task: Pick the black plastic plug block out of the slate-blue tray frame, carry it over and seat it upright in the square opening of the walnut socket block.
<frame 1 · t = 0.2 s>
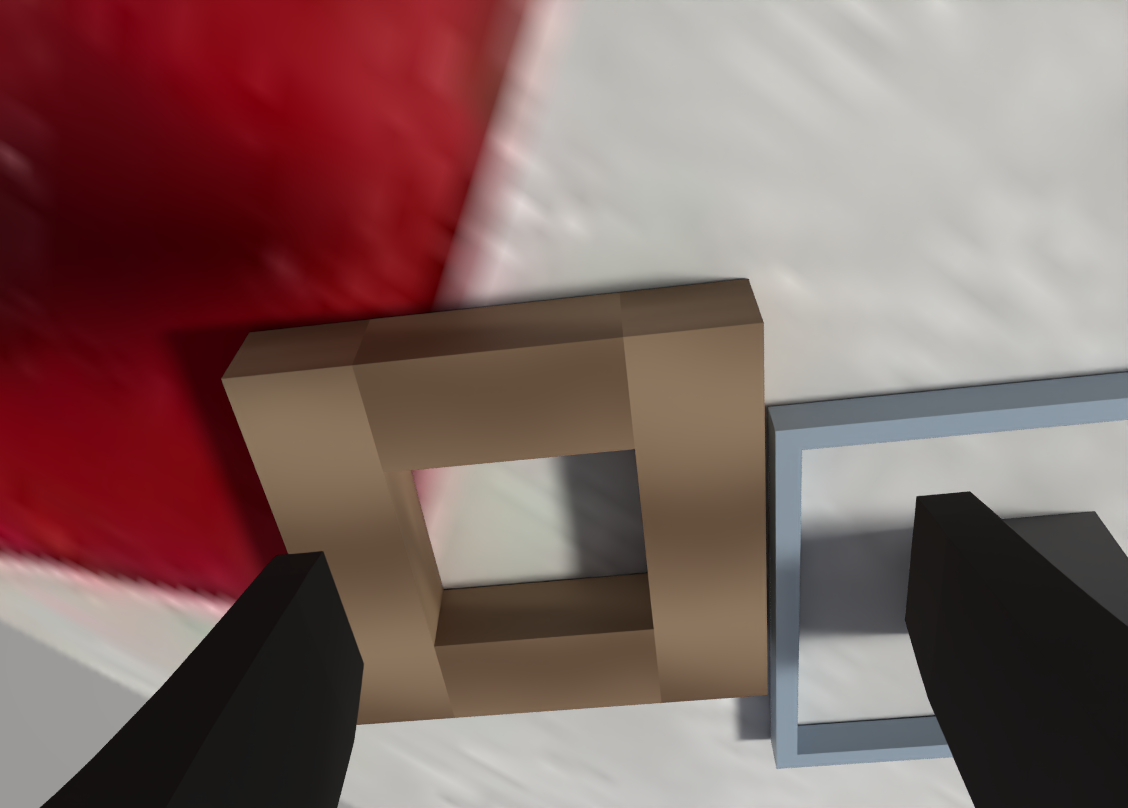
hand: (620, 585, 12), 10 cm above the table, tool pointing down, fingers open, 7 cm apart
socket block: (530, 501, 24), on the table
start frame: (1004, 576, 25), on the table
plug: (1050, 662, 22), in the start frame
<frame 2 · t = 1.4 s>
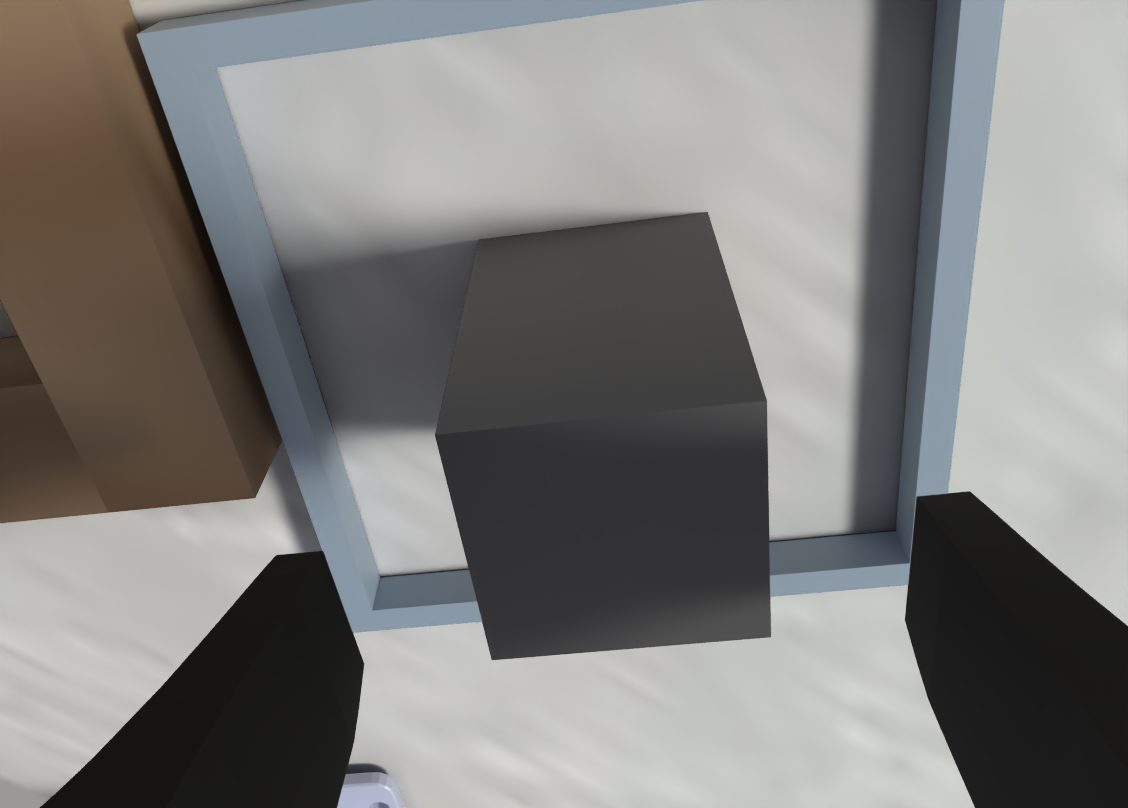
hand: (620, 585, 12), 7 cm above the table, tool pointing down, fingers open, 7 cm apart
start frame: (604, 328, 17), on the table
plug: (609, 416, 15), in the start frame
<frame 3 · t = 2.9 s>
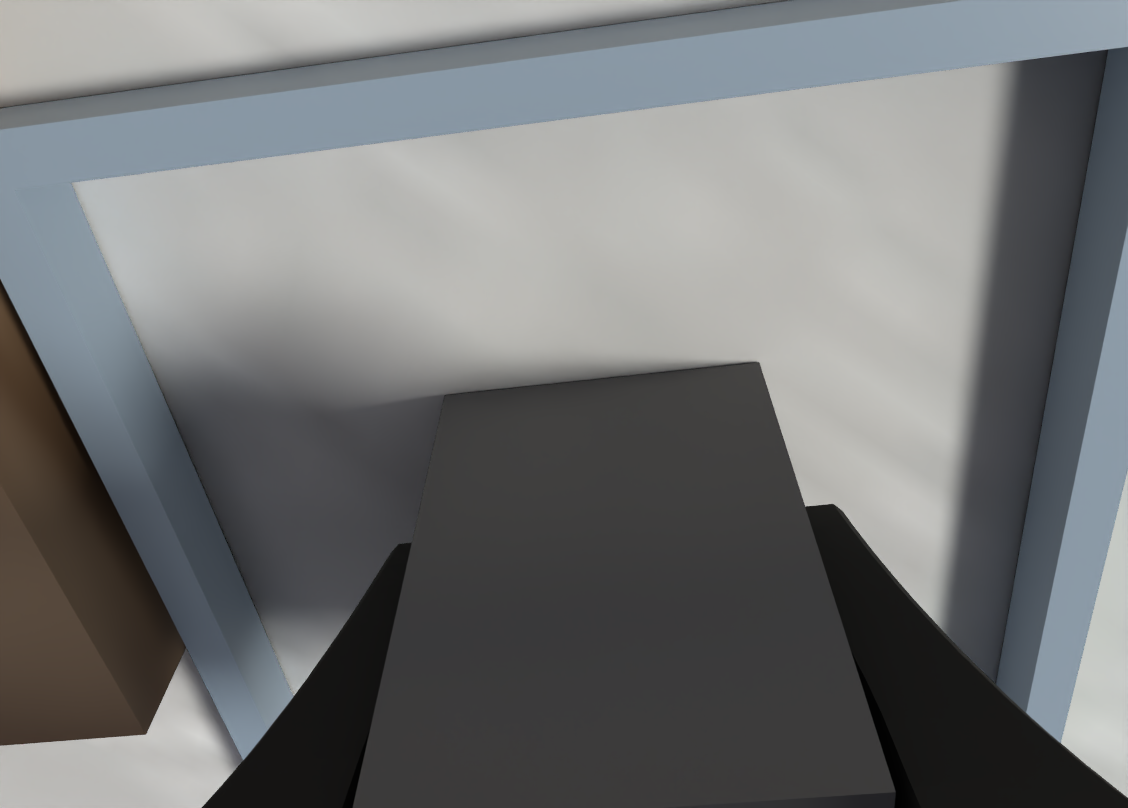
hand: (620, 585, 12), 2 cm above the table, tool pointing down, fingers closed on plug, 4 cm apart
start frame: (615, 502, 13), on the table
plug: (624, 672, 10), in the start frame, touching gripper
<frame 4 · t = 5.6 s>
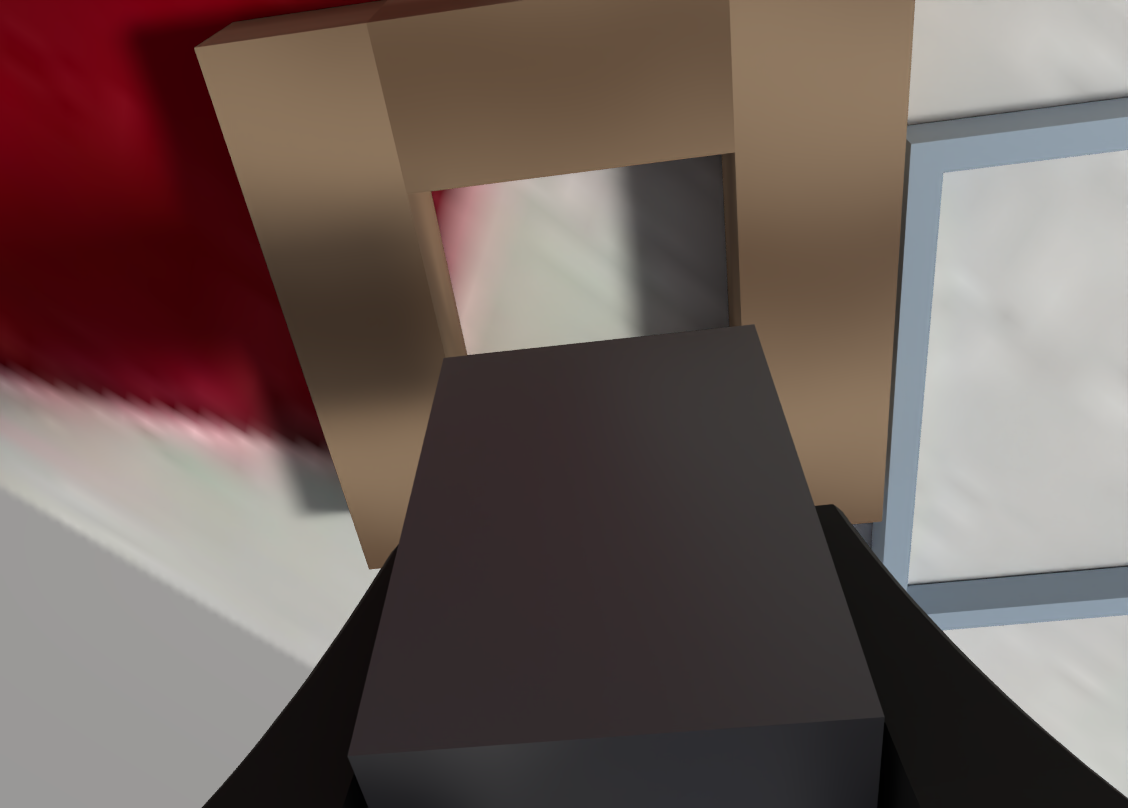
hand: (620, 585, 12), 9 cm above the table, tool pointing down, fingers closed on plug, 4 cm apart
socket block: (587, 273, 19), on the table
plug: (620, 625, 11), point 10 cm above the table, touching gripper
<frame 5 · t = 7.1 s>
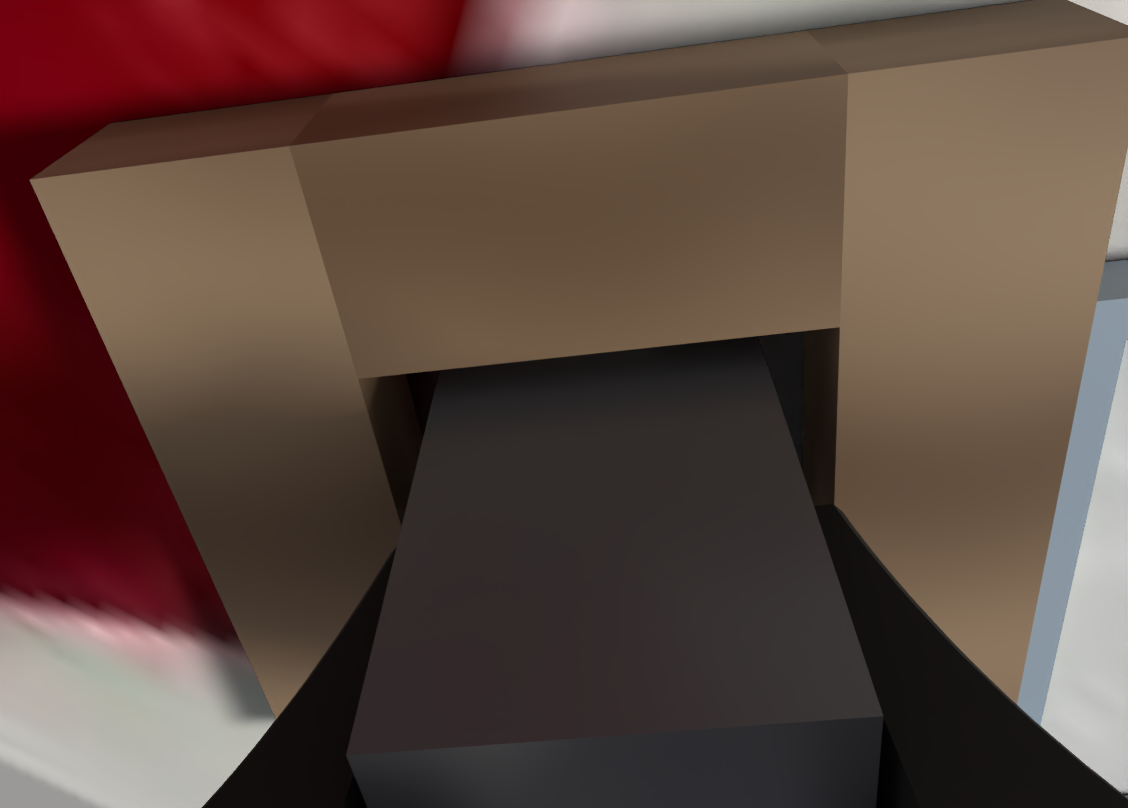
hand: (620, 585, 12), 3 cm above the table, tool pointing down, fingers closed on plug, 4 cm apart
socket block: (613, 447, 14), on the table
plug: (620, 625, 11), in the socket block, point 4 cm above the table, touching gripper
when the fingers open (3 cm above the table, at t = 8.3 s): plug stays where it is, resting in socket block.
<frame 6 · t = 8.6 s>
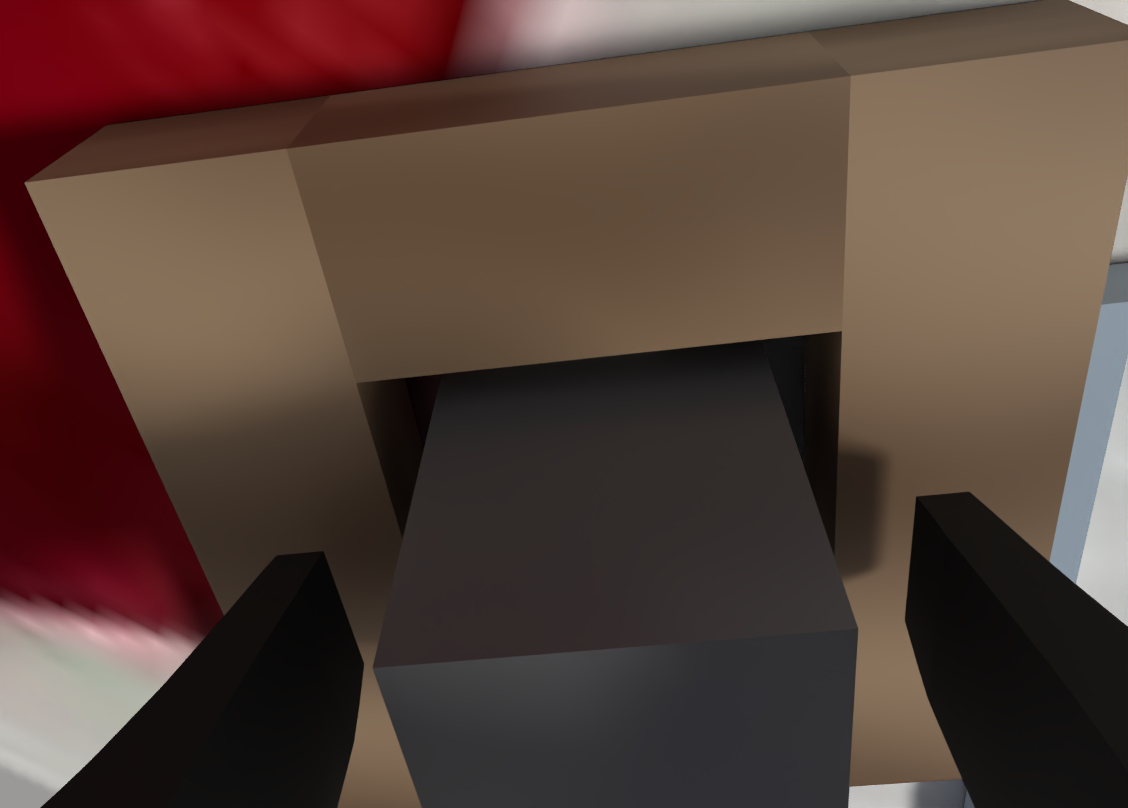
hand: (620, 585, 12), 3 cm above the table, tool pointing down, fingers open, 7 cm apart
socket block: (613, 451, 14), on the table
plug: (620, 572, 11), in the socket block
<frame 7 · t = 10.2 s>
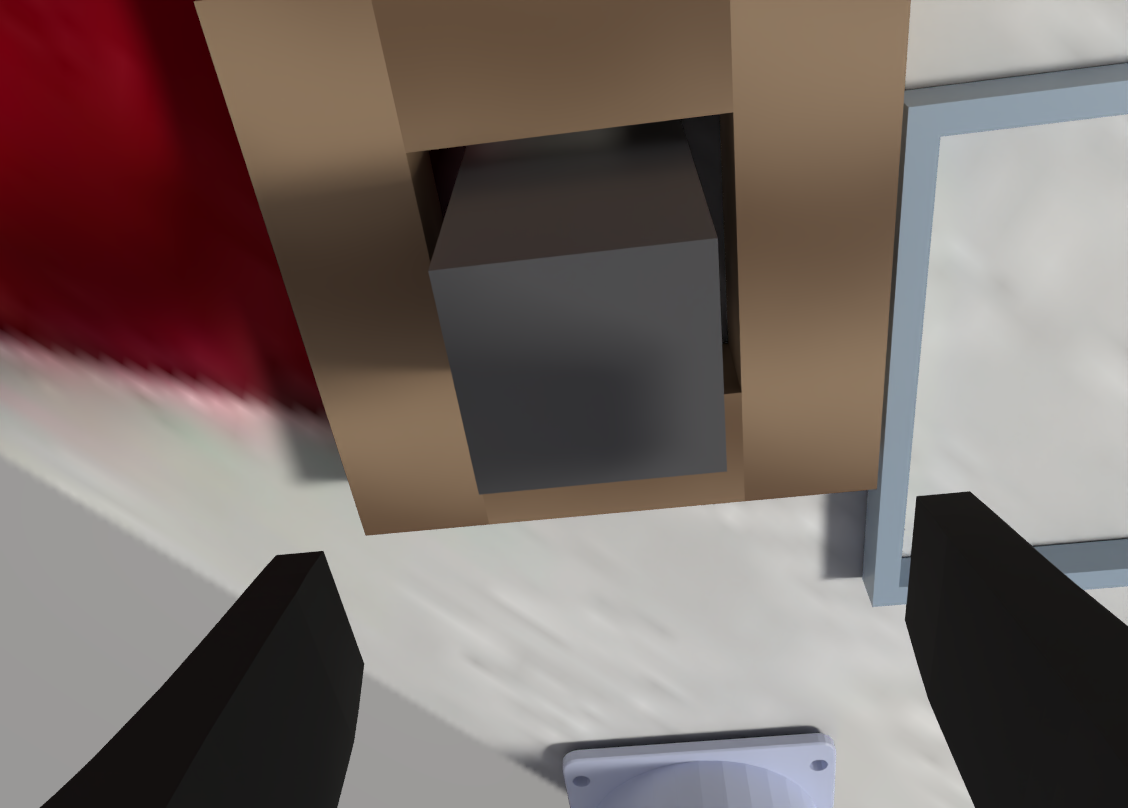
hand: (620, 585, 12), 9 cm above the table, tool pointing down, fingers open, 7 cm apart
socket block: (585, 238, 19), on the table
plug: (585, 287, 16), in the socket block
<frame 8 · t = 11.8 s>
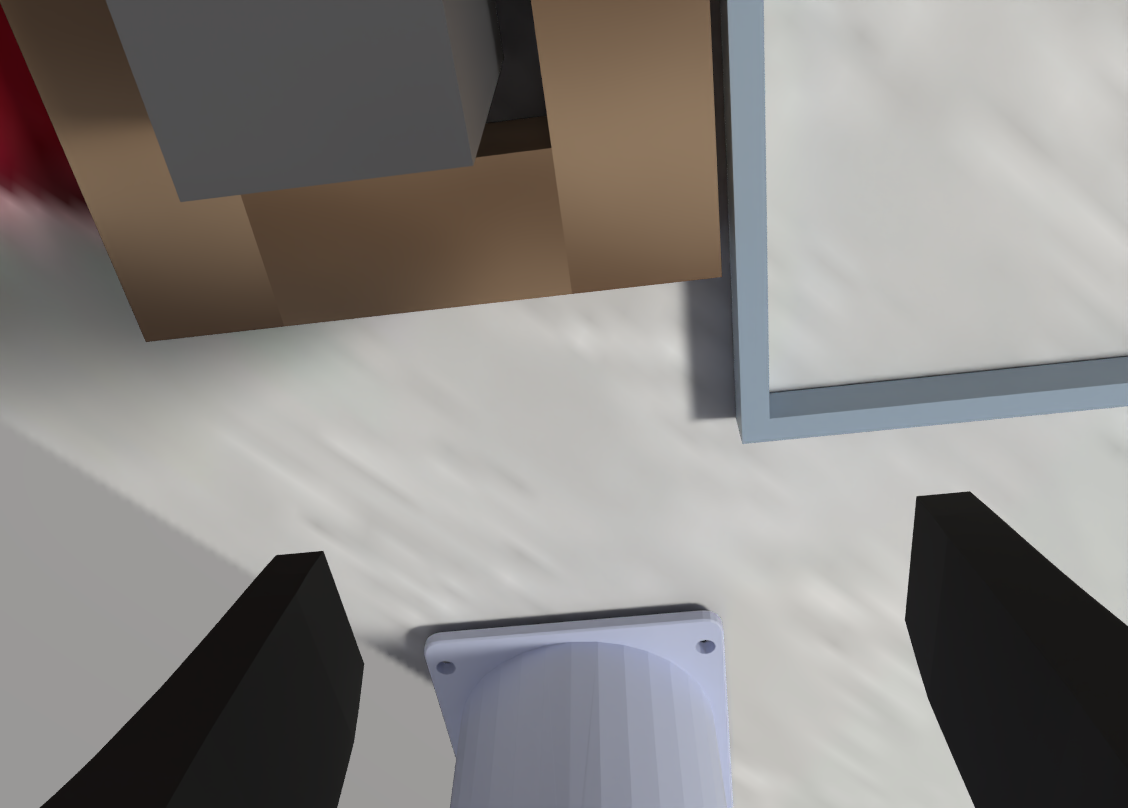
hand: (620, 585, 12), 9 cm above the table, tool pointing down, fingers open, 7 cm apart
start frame: (1056, 114, 18), on the table
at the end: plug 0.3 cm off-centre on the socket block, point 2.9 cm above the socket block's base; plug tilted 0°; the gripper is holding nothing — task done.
